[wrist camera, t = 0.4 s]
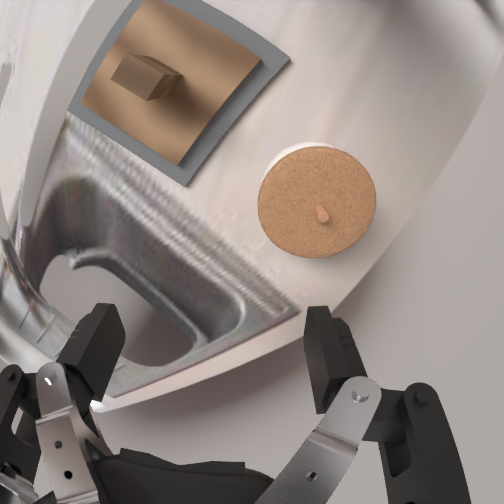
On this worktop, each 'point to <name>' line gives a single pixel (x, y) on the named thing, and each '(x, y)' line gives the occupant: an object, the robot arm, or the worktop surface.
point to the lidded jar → (315, 200)
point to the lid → (167, 78)
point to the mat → (225, 115)
